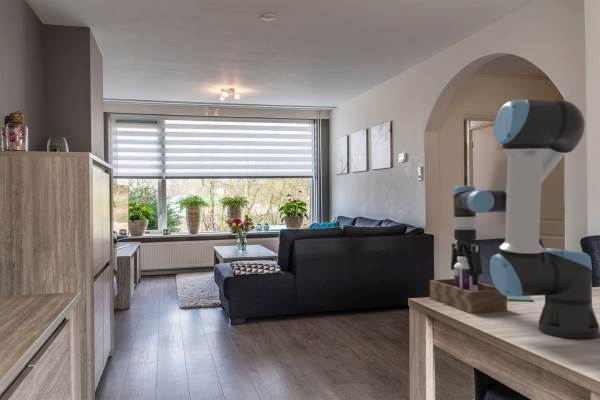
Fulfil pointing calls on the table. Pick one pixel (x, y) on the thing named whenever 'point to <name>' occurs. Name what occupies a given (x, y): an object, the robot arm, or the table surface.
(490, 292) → the crate
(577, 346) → the table surface
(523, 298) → the mat
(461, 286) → the pill bottle
